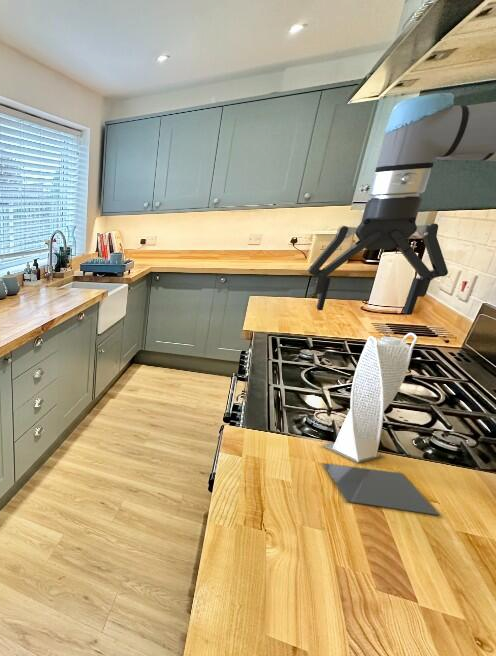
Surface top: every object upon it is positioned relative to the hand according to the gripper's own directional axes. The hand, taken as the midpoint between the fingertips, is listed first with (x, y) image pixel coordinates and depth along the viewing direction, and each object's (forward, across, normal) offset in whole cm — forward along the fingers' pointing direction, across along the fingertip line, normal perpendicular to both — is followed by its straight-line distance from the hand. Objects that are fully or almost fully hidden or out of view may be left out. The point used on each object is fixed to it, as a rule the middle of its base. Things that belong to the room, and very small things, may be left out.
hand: (361, 311), depth 84 cm
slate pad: (+31, +6, -15) cm, 35 cm away
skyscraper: (+31, +5, -2) cm, 32 cm away
